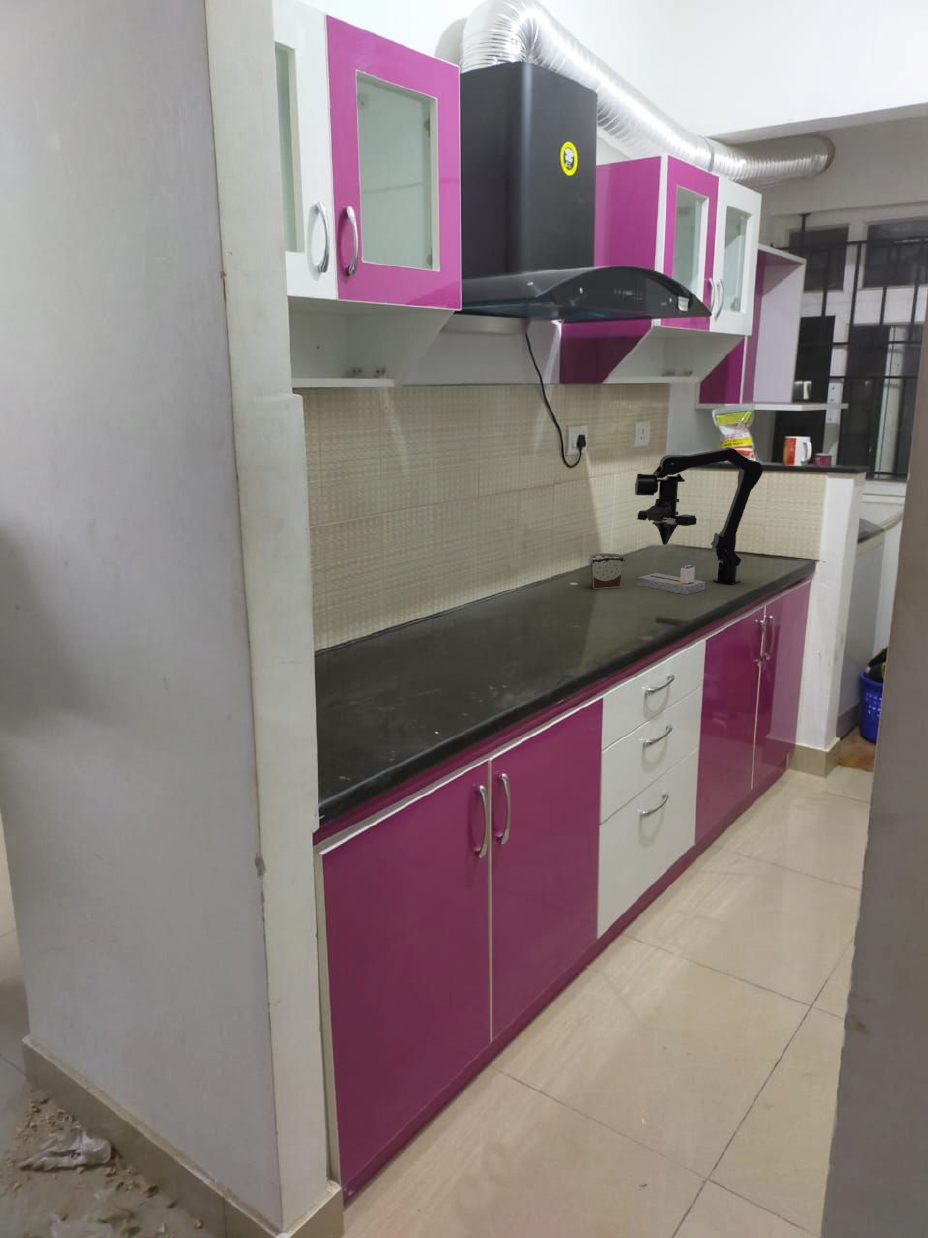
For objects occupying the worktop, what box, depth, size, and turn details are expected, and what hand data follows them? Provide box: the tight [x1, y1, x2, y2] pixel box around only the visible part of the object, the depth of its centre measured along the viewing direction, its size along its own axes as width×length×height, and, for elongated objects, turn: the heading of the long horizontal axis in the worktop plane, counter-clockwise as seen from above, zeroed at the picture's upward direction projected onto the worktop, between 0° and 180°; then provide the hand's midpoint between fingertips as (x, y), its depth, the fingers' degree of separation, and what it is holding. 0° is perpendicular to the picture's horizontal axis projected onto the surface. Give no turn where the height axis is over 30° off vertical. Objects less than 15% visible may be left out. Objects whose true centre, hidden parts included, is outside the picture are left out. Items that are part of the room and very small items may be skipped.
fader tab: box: [679, 564, 696, 584], centre depth 283 cm, size 4×2×5 cm, turn 134°
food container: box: [588, 552, 627, 590], centre depth 289 cm, size 12×6×10 cm, turn 109°
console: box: [637, 572, 706, 596], centre depth 288 cm, size 10×18×3 cm, turn 44°
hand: (664, 544), depth 294 cm, fingers closed
